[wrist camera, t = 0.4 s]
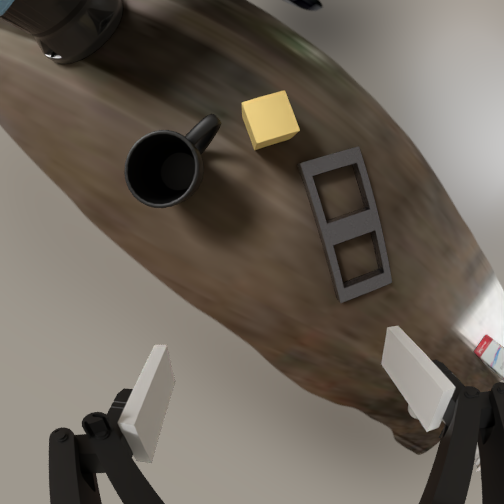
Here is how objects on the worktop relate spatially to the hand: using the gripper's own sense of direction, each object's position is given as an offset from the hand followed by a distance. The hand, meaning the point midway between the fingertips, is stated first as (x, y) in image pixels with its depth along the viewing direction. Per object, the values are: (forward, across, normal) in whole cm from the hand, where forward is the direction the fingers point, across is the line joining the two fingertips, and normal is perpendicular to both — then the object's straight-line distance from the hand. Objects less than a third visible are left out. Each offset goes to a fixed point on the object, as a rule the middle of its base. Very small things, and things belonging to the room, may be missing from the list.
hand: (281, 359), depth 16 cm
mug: (+25, -8, +13) cm, 30 cm away
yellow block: (+25, +2, +17) cm, 30 cm away
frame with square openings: (+25, +12, +3) cm, 28 cm away
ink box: (+25, +50, -25) cm, 61 cm away
